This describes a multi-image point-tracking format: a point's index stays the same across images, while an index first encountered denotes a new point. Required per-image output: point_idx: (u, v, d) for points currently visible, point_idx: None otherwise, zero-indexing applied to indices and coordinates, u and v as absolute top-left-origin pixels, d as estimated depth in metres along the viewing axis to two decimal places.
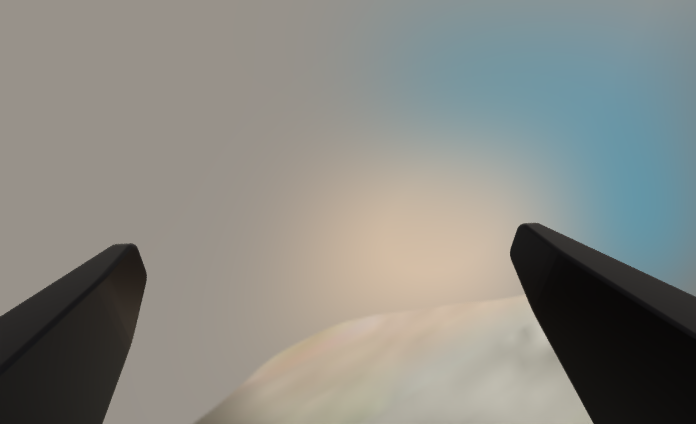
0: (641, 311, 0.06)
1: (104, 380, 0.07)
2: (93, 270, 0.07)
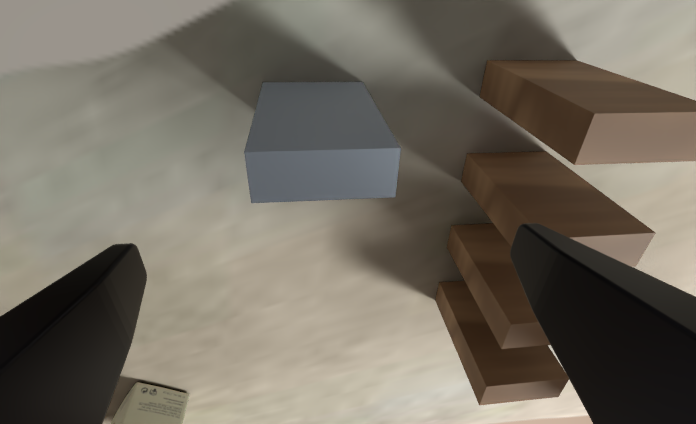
0: (641, 311, 0.06)
1: (104, 380, 0.07)
2: (93, 270, 0.07)
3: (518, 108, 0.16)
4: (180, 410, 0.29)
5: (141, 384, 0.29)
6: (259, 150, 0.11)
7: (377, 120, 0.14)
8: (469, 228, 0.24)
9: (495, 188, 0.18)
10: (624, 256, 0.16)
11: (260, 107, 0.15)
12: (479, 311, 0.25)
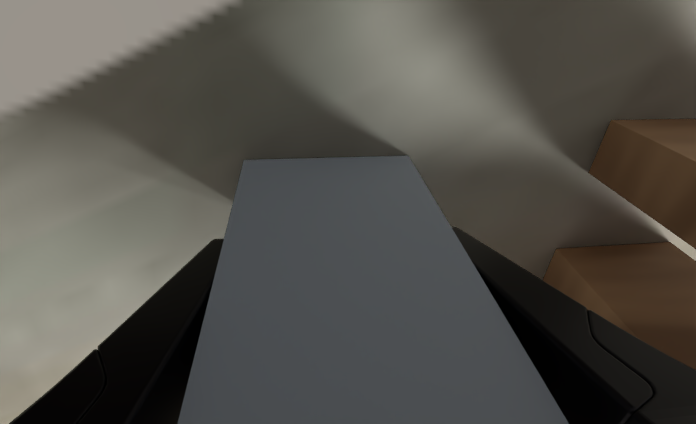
0: (524, 320, 0.06)
1: None
2: (207, 264, 0.07)
3: None
4: None
5: None
6: None
7: (471, 287, 0.07)
8: None
9: None
10: None
11: (231, 241, 0.08)
12: None
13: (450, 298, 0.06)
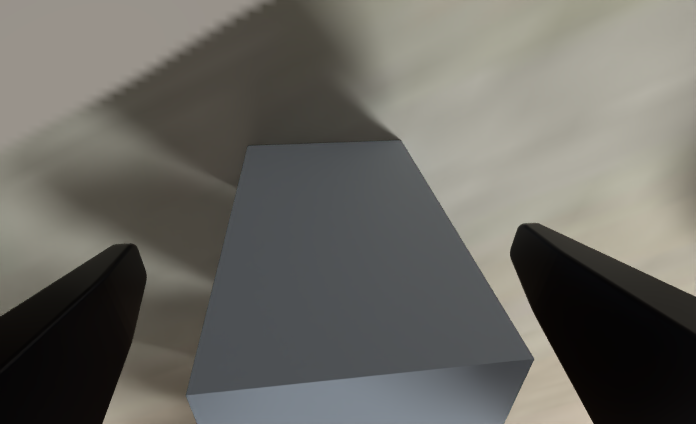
0: (641, 311, 0.06)
1: (104, 380, 0.07)
2: (93, 270, 0.07)
3: None
4: None
5: None
6: (221, 383, 0.05)
7: (453, 248, 0.07)
8: None
9: None
10: None
11: (238, 214, 0.08)
12: None
13: (433, 257, 0.07)
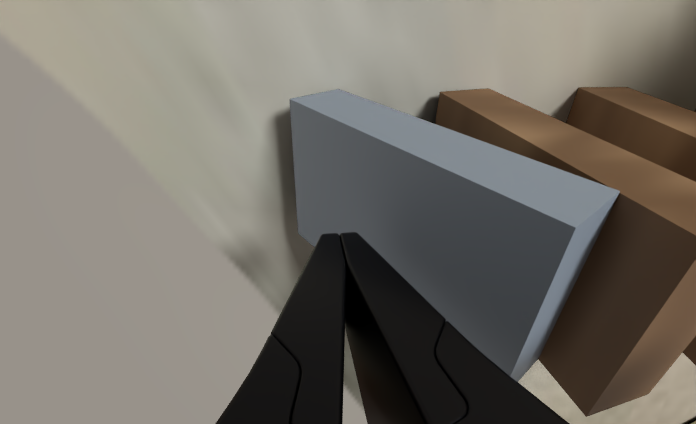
0: (378, 332, 0.06)
1: None
2: (330, 256, 0.07)
3: None
4: None
5: None
6: None
7: (440, 180, 0.07)
8: None
9: None
10: None
11: None
12: None
13: (445, 205, 0.08)
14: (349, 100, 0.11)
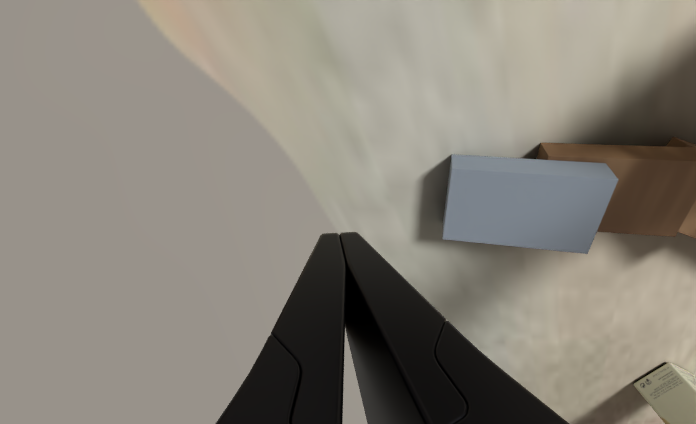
0: (378, 333, 0.06)
1: None
2: (330, 257, 0.07)
3: None
4: (677, 377, 0.36)
5: (636, 383, 0.39)
6: (587, 247, 0.21)
7: (561, 180, 0.19)
8: None
9: (690, 235, 0.23)
10: None
11: (509, 243, 0.22)
12: None
13: (563, 189, 0.19)
14: (472, 159, 0.21)
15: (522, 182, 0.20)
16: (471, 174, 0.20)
